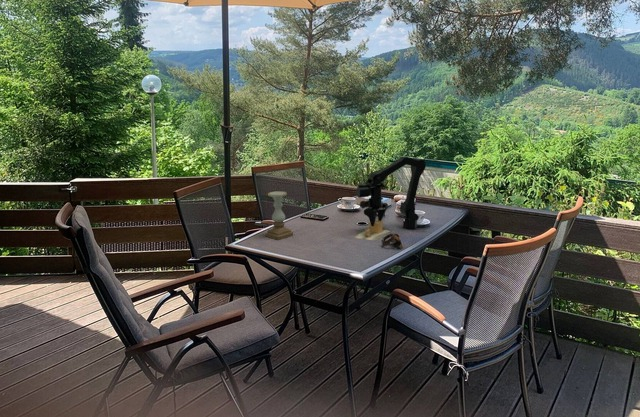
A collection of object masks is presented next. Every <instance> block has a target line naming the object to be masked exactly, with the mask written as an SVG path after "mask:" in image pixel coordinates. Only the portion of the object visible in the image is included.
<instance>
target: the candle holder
mask: <svg viewBox="0 0 640 417" xmlns="http://www.w3.org/2000/svg"><path fill="white" fill-rule="evenodd" d="M267 195H268V197H271V198H272V199H273V201H274V202H273V205H272V206H273V207H274V211H273V213H272V214H271V220H272V221H273V222H272V225H273V227H272V228H270V229H268V230H267V232H266V233H265V237H266V238H270V239H273V240H277V241H279V240H284V239H287V238H290V237H293V236H294V232H292V229H290V228H287V227H286V226H285V222H284V221H285V220H286V214H285V213H284V211H283V210H282V207H283V206H284V204H283V203H282V199H283V197H285V196H287V195H288V193H287V191H282V190H278V191H277V190H276V191H275V190H274V191H270V192H268V193H267Z"/></svg>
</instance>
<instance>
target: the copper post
mask: <svg viewBox="0 0 640 417" xmlns="http://www.w3.org/2000/svg"><path fill="white" fill-rule="evenodd" d="M364 231H365V237H370V229H368V228H365V229H364Z"/></svg>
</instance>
